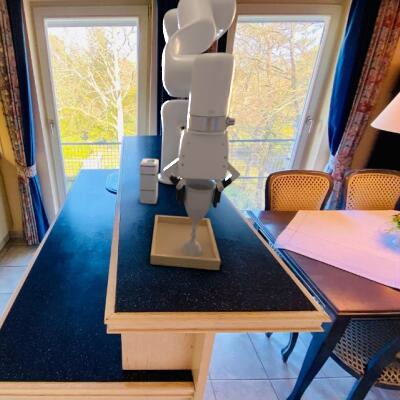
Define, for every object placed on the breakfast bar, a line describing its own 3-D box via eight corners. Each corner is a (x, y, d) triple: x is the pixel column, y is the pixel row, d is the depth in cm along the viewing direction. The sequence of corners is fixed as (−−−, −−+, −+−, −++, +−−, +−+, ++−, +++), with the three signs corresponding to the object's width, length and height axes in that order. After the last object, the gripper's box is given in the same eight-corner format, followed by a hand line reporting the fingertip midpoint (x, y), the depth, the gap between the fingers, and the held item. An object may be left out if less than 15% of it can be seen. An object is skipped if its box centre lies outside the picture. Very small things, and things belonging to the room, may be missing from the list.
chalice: (172, 245, 68) (177, 180, 60) (194, 239, 70) (202, 176, 62) (188, 262, 62) (196, 192, 54) (212, 255, 64) (223, 187, 56)
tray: (155, 222, 80) (155, 214, 79) (208, 226, 78) (209, 218, 76) (150, 264, 62) (150, 255, 61) (218, 270, 60) (220, 261, 59)
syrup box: (156, 204, 91) (157, 163, 84) (139, 203, 92) (139, 162, 85) (157, 197, 96) (159, 158, 89) (141, 196, 97) (142, 157, 90)
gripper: (247, 121, 55) (233, 199, 62) (163, 120, 57) (159, 195, 65) (258, 128, 48) (240, 214, 56) (162, 126, 50) (158, 209, 58)
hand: (197, 203), depth 60 cm, fingers closed on chalice, 6 cm apart
